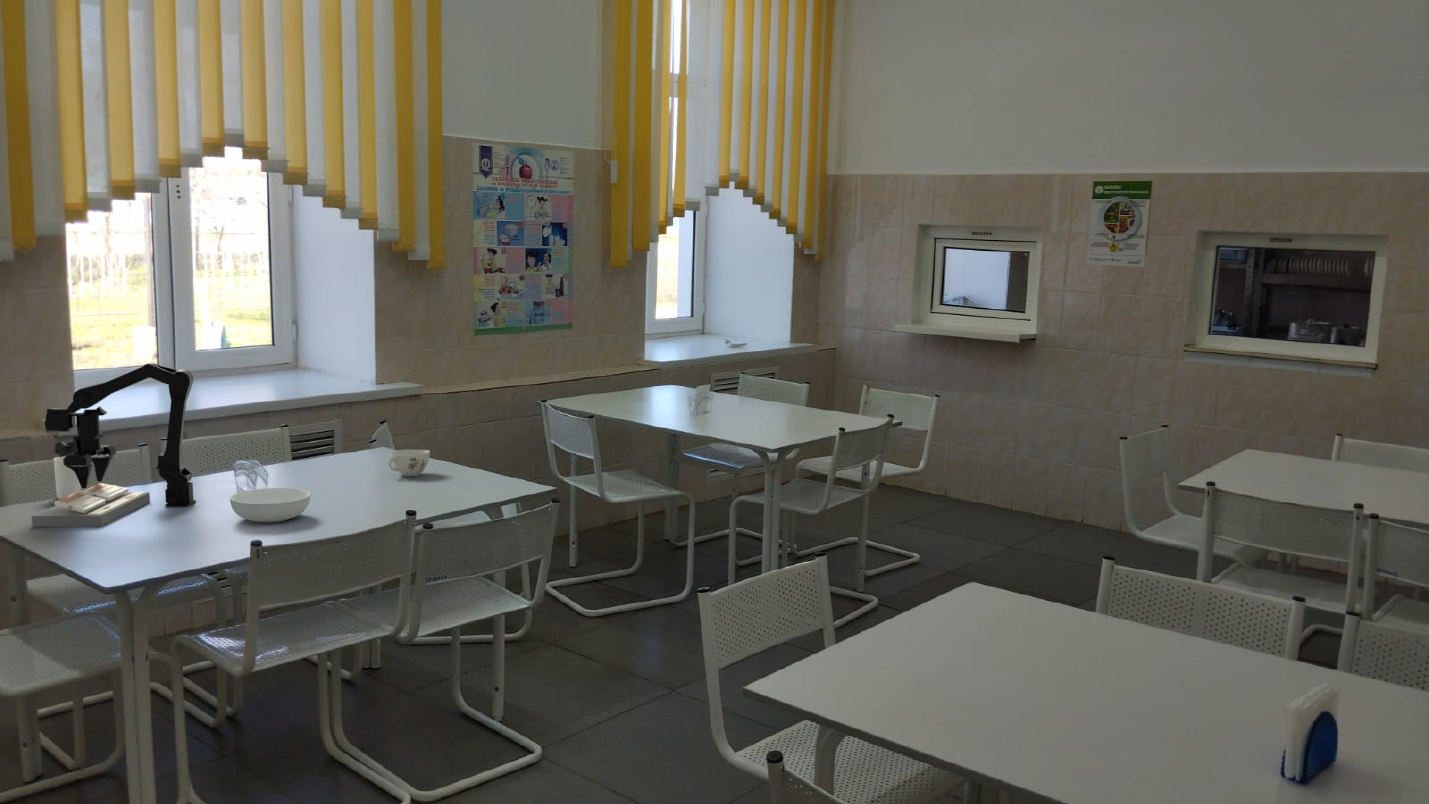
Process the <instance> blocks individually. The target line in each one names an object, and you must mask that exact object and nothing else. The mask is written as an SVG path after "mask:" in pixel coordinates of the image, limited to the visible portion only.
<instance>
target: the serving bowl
mask: <svg viewBox="0 0 1429 804" xmlns="http://www.w3.org/2000/svg"><path fill="white" fill-rule="evenodd" d="M229 502H230V505H231V508H232V510H233V512H234V513H235V514H236V515H237V516H238V517H239V518H242V519H245V520H248V521H251V522H252V521H253V522H256V523H262V524H263V523H264V524H268V523H269V524H270V523H279V522H283V521H287V520H289V519H293V518H295V517H297V516H301V514H302V513H304V512H305V511H306V509H307V508H308V507H309V505H310V502H311V492H309V491H308V490H306V489H305V490H304V489H301V488H294V487H292V488H291V487H270V488H268V487H266V488H257V489H256V488H255V489H249V490H245V491H241V492H238V493H234V494H232V495H230V497H229Z"/></svg>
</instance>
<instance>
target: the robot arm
mask: <svg viewBox="0 0 1429 804" xmlns="http://www.w3.org/2000/svg"><path fill="white" fill-rule="evenodd" d="M147 379H152V380H155V381H158V382H159V383H161V384H164V385H168V393H169V398H170V407H169V408H170V410H169V419H168V426H167V427H168V428H167V436H166V446H165V451H164V452H163V451H161V452H160V453H159V454H158V455H157V462H158V464H157V466H156V468H155V469H156V470H158V475H159V476H160V478H161V479H162V480H165V482H166V488H165V489H164V490H165V503H166V504H164V505H165V507H189V506H191V505H192V504H194V503H196V502H197V500H196V499H194V485H193V484H194V482H193V481H192V482H190V481H191V479H192V477H193V472H191V471H190V470H188V469H187V468H186V467H185V462H184V455H183V451H182V444H183V435H184V427H185V426H184V425H185V418H186V407H187V401H188V398H189V395H190V393H191V390H192V387H193V384H194V375H193V373H192V372H191V371H189V370H187V369H185V368H182V369H181V368H180V369H176V368H171V367H168V366H165V365H160V364H157V363H155V362H147V363H145V364H144V365H143V366H140V367H139V368H136V369H134V370H131V371H129V372H127V373H124V374H121V375H119V376H118V377H114V378H112V379H110V380H107V381H105V382H100V383H96V384H91V385H88V386H84V387H81V388H79V389H76V391H74V393H73V396H72V402H71V403H70V404H69V405H68V406H67V408H66V407H64V408H57V407H49V408H47V409H46V414H45V421H44V426H45V427H44V428H45V431H46V433H65V432H66V433H67V432H71V431H72V429H75V428H76V435H74V436H73V437H72V438H73V439H72V441H70V442H67V443H66V442H65V441H59V442H57V443H54V451H53V452H54V453H55V454H57V455H58V457H63V456H65V457H64V459H63V465H64V466H66V467H67V468H70V469H72V470H73V471H74V472H75V474H76V476H77V478H78V481H79V483H80V485H81V489H87V486H88V484H89V480H90V475H91V471H92V467H93V466H94V472H95V476H96V477H95V478H96V481H97V482H98V483H99V482H102V481H104V477H105V475H106V472H107V471H108V468H109V466H110V464H111V462H112V459H114V456H115V455H116V454H117V452H116V448H115V446H114V445H112V444H102V443H101V438H103V437H104V433H102V432H101V427H100V426H101V424H100V416H102V417H103V416H105V415H107V414H108V413H107V412H108V411H106V410H105V409H104V408H102V407H101V405H100V406H98V407H97V408H95V409H90V408H92V407H93V406H95V405H97V404H98V403H100V402H102V401H103V400H105V399H106V398H108V397H109V396H111V395H112V394H114V393H116V392H118V391H121V390H123V389H126V388H128V387H130V386H133V385H135V384H137V383H140V382H142V381H146V380H147ZM82 409H83V412H79V411H80V410H82Z"/></svg>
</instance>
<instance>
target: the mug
mask: <svg viewBox="0 0 1429 804" xmlns="http://www.w3.org/2000/svg"><path fill="white" fill-rule="evenodd" d="M64 457H65V455H64V456H63V457H60V456H57V457H54V458H53V466H54V467H53V468H54V478H55V479H54V480H55V488H56V489H55V491H56V498H57V500H59V499H62V498H64V497H67V496H69V495H71V494H74V493H76V492H79V493H80V492H81V491H82V487H81V485H80V483H79V481H78V478H77V476H76V474H75V472H74V471H73V470H72V469H70V468H67V467H66V466H64V465H63V459H64Z"/></svg>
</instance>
